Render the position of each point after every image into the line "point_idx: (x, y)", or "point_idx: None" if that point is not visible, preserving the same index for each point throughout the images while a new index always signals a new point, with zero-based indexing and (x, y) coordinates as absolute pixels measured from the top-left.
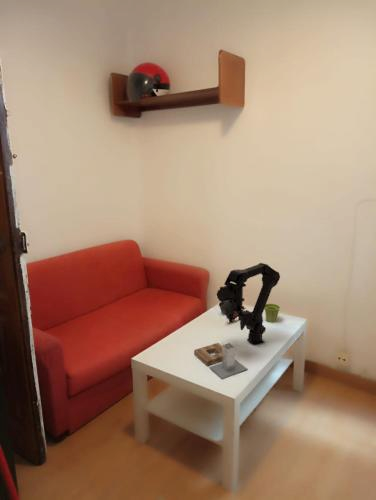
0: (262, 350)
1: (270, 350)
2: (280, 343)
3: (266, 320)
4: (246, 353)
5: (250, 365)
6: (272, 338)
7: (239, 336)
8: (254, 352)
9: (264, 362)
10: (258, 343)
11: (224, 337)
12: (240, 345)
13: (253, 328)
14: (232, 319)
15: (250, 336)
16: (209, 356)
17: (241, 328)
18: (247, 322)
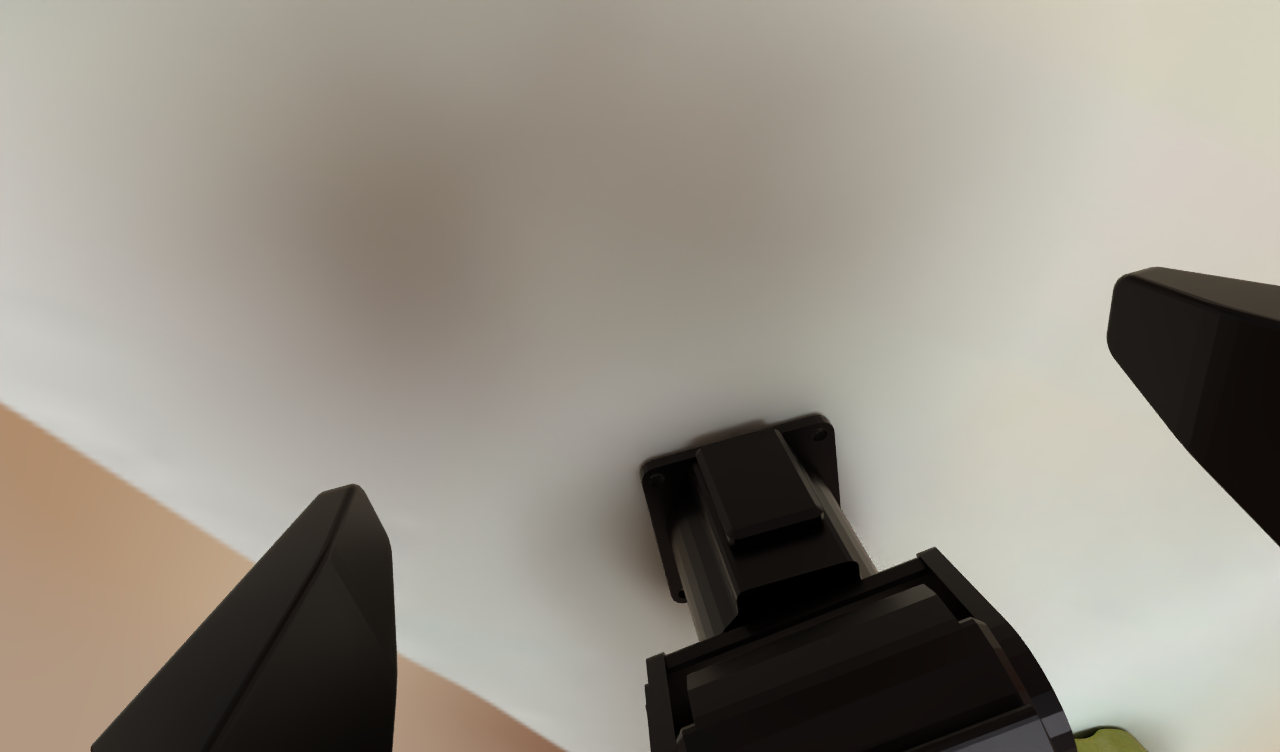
0: (466, 515)
1: (440, 600)
2: (578, 728)
3: (1103, 730)
4: (431, 267)
5: None
6: None
7: (981, 349)
8: (434, 397)
9: (79, 437)
10: (653, 526)
11: (1101, 95)
12: (723, 266)
13: (700, 703)
14: (1197, 451)
15: (752, 507)
16: None
17: (272, 557)
18: (926, 701)
